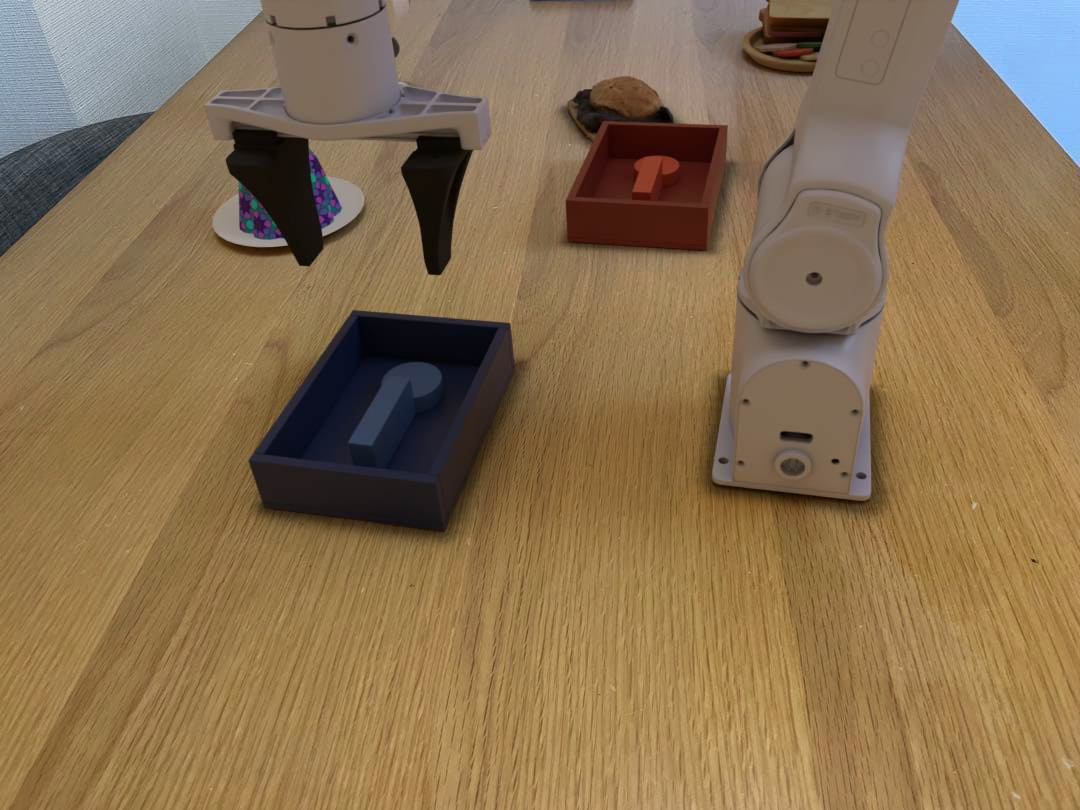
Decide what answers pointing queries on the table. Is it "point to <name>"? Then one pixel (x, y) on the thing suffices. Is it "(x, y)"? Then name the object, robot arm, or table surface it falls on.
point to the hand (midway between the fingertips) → (374, 261)
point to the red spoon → (654, 176)
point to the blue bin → (429, 443)
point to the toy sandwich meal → (789, 34)
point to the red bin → (682, 209)
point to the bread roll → (617, 104)
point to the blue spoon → (394, 412)
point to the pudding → (256, 228)
